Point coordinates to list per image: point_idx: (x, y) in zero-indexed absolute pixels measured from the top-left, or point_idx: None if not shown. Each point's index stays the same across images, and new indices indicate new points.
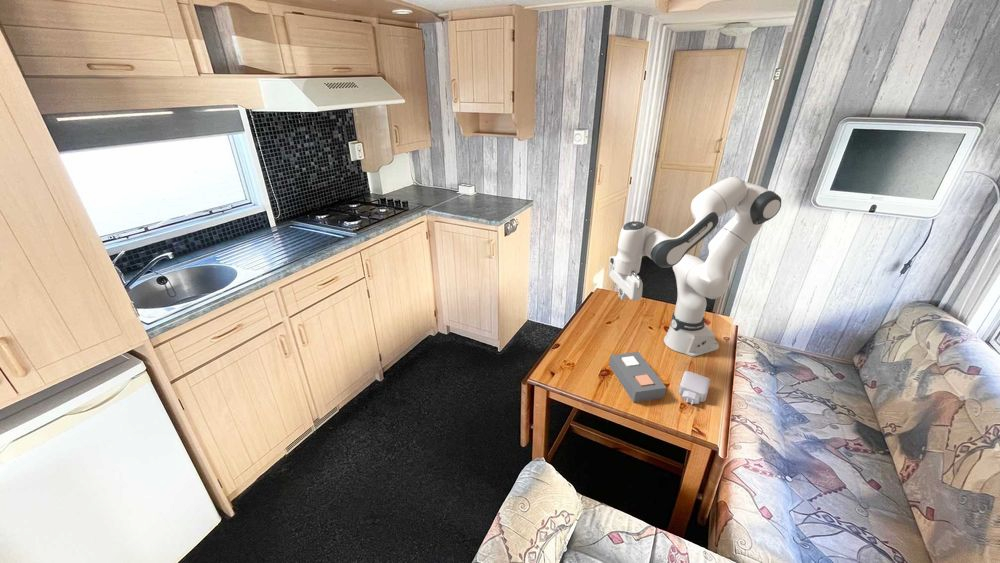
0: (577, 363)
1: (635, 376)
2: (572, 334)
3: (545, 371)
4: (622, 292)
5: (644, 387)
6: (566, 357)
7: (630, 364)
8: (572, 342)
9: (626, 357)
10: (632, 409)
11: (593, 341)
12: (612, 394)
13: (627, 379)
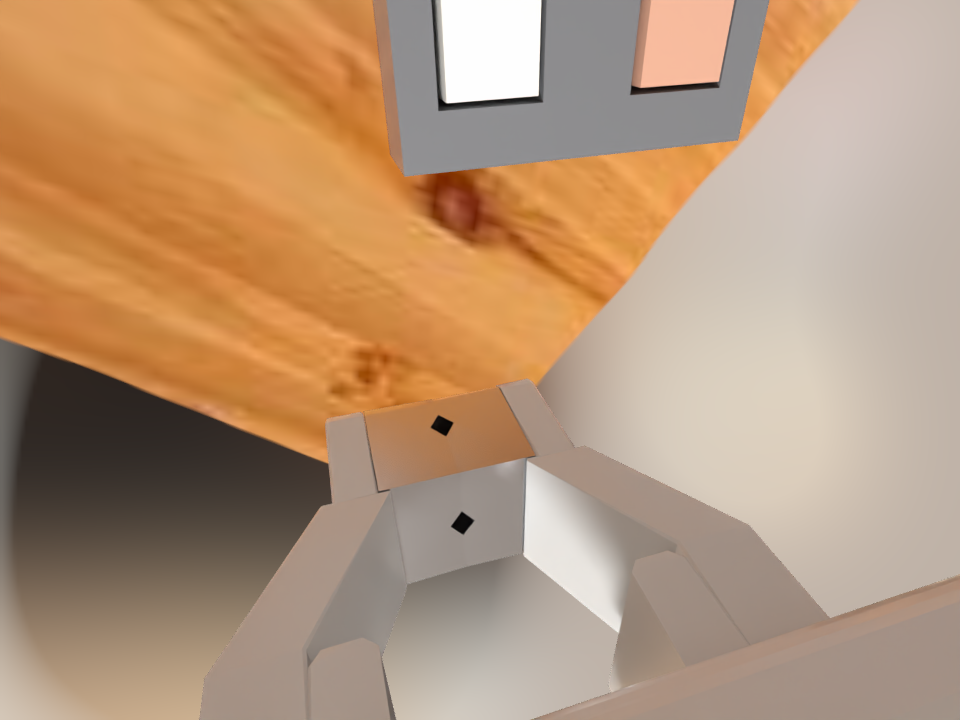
0: (362, 333)
1: (645, 85)
2: (20, 319)
3: None
4: (390, 546)
5: (731, 65)
6: (307, 380)
7: (530, 64)
8: (137, 332)
9: (450, 60)
10: (721, 148)
11: (95, 183)
12: (613, 213)
13: (642, 147)
